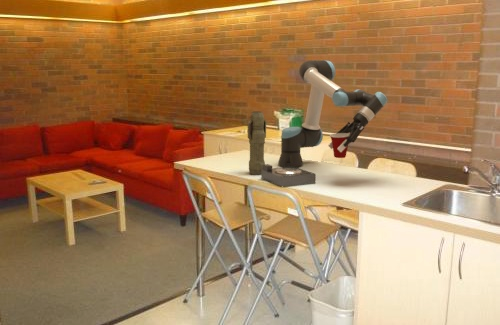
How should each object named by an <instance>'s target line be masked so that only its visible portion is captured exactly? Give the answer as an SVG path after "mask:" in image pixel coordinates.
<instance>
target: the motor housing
mask: <svg viewBox="0 0 500 325" xmlns="http://www.w3.org/2000/svg"><path fill="white" fill-rule="evenodd" d="M316 175H317V174H316V173H314V172H311V171H308V170H305V169H302V168H300V167H276V168H273V165H272V164H268V163H265V164H264V165H263V169H262V170H261V175H260V177H261V180H264V181H266V182H268V183H271V184H273V185H276V186H278V187H281V186H283V187H282V188H288V187H297V186H303V185H312V184H316V177H317V176H316Z"/></svg>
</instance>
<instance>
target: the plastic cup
mask: <svg viewBox="0 0 500 325" xmlns="http://www.w3.org/2000/svg"><path fill="white" fill-rule="evenodd" d="M349 135H350V133H337V132H335V133H331V134H329V137H330V139H331V142H332V146H333V148H332V151H333V157H334V158H335V159H336V158H338V159H345V158H346V157H347V152H348V147H349V145H348V146H347V147H346V148H345V149H344V150H343V151H342V152H340V151H339V150H338V149H337V148H338V147H339V146H340V145H341V144H342V143H343V142H344V141H345V140H346V138H348V137H349Z"/></svg>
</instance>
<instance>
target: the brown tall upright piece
mask: <svg viewBox="0 0 500 325" xmlns="http://www.w3.org/2000/svg"><path fill="white" fill-rule="evenodd" d="M249 119H250V120H248V122H247V139H248V143H249V161H248V171H249V172H248V174H249V175H252V176H261V170H262V169H263V165H264V164H266V163H265V162H266V161H265V143H266V141H265V140H266V138H267V121H266V120H265V116H264V112H262V111H258V110H257V111H256V110H255V111H253V112H251V114H250V118H249Z"/></svg>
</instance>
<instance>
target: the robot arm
mask: <svg viewBox="0 0 500 325" xmlns="http://www.w3.org/2000/svg"><path fill="white" fill-rule="evenodd" d="M298 75H299V77H300V79H301V80H302V81H303V82H305V83H306V84H310V85H311V86H310V92H309V99H308V101H307V102H308V103H307V110H306V115H305V119H304V122H303V123H302V124H301V127H300V126H289V127H285V128H283V129H282V131H281V135H280V138H281V143H280V144H281V146H280V147H281V148H280V149H281V150H280V156H279V159H278V162H277V163H278V164H277V166H279V167H280V168H283V167H296V168H300V167H303V166H304V162H303V159H302V154H301V149H303V148H314V147H317V146H319V145H320V144H321V143H322V141H323V140H324V139H323V137H324V135H323V130H322V129H321V126H320V120H321V115H322V114H321V113H322V108H323V104H324V98H325V95H326V96H327V97H329V98H330V99H331V100H332V103H333V105H334V106H335V107H341V108H342V107H359V106H361V108H360V110H358V112H357V113H356V114H355V115H354V116H353V121H352V122H349V121H348V122H347V123H346V124H345V125H344V126H343V127H342V128H341V129H339V130H338V131H337V132H336V133H349V134H350V135H349V137H348V138H346V140H345V141H344V142H343V143H342V144H341V145H340V146H339V147H338V148H337V149H338V150H339V151H340V152H342V151H343V150H344V149H345V148H346V147H347V146H348V147H349V145H350V144H351V143H354V142H356V140H357V139H358V137H359V136H360V135H361V133H362V131H364V129H365V128H366V126H367V125H368V124H369V122H370V121H371V120H373V119H374V117H375V116H376V115H377V114H378V113H379V112H380V111H381V110H382V109H383V108H384V107H385V106H386V104H387V103H388V97H387V96H386V95H385V94H384V93H383V92H381V91H376V93H374V94H372V93H369V92H367V91H365V90H362V89H358V88H357V89H355V90H353V91H347V90H346V89H344V88H342V87H341V86H339V85H338V84H337V83H335V82H333V81H332V80H334V78H335V76H336V68H335V66H334V64H333V62H332V61H330V60H325V59H322V60H320V59H319V60H318V59H317V60H314V59H309V60H304V61H303V62H302V63H301V64H300V65H299V68H298ZM327 146H328V147H329V148H330V149H331V150H333V146H332V141H330V142H329V144H328V145H327Z"/></svg>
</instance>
